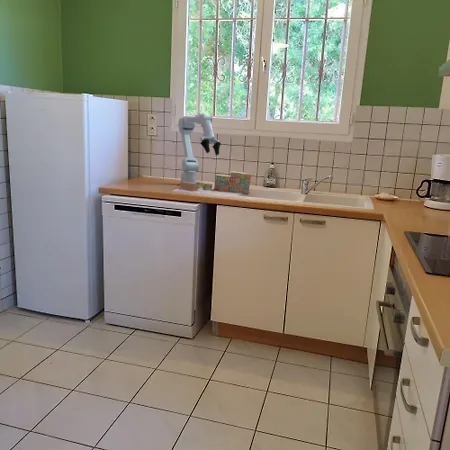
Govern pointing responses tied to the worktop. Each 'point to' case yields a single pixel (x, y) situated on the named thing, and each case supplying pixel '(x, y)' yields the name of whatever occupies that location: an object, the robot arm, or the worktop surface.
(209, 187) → the pillar
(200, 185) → the pillar
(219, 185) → the stack of blocks
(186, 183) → the beam
